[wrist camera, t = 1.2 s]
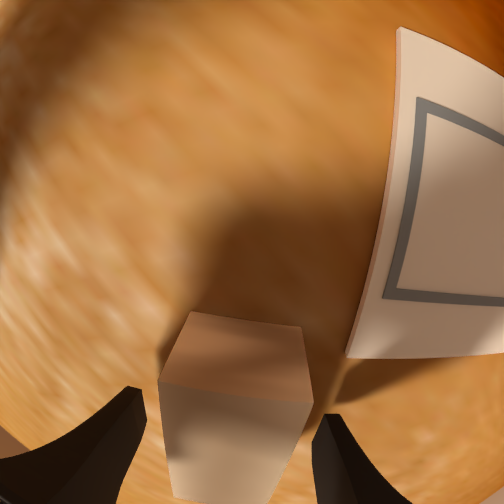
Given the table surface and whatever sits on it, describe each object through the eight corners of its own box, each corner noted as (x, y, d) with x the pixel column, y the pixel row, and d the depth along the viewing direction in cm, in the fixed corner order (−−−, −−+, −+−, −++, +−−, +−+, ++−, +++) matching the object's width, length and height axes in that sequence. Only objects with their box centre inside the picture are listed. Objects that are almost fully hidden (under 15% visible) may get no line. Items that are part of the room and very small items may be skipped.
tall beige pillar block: (300, 324, 10) (313, 402, 7) (265, 447, 13) (263, 510, 9) (192, 308, 11) (157, 380, 7) (189, 436, 13) (173, 497, 9)
